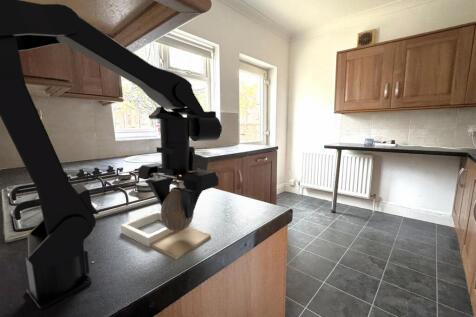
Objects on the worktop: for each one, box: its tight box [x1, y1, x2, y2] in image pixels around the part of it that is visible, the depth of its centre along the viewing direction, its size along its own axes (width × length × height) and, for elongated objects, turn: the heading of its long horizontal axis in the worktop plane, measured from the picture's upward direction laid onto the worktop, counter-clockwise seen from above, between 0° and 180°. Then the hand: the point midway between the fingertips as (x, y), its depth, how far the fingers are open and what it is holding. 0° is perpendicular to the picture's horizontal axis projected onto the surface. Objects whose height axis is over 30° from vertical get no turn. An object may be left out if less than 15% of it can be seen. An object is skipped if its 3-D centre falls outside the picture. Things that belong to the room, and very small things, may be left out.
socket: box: [120, 182, 185, 247], centre depth 54 cm, size 16×11×10 cm
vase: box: [160, 186, 195, 231], centre depth 47 cm, size 7×7×9 cm
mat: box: [149, 226, 212, 260], centre depth 48 cm, size 10×10×1 cm
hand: (177, 213), depth 47 cm, fingers closed on vase, 7 cm apart
